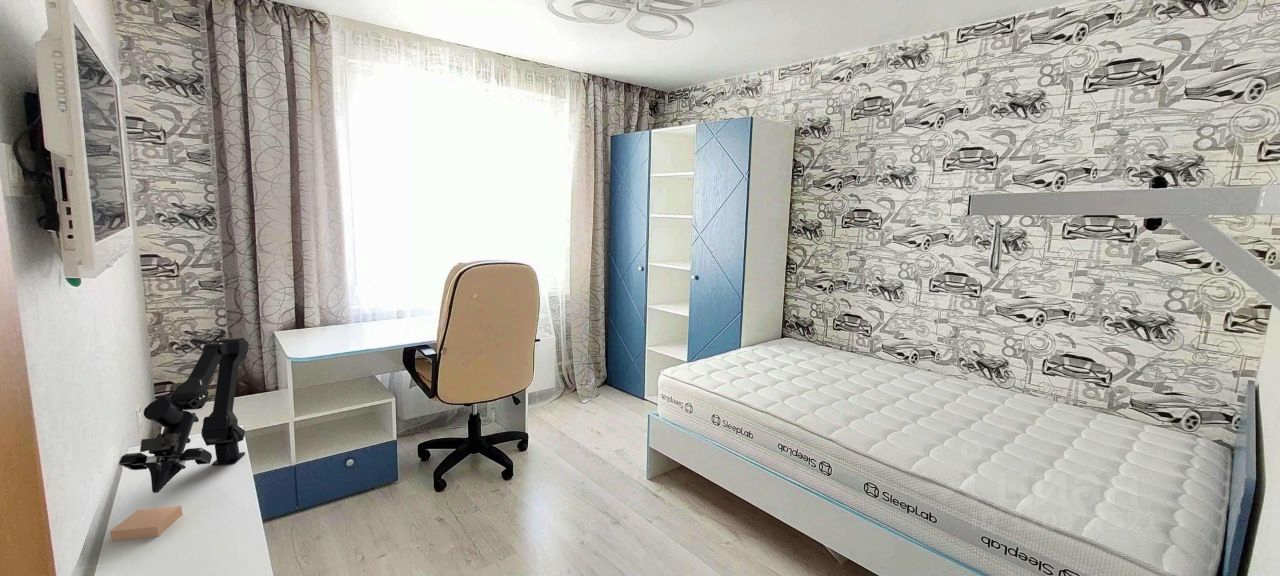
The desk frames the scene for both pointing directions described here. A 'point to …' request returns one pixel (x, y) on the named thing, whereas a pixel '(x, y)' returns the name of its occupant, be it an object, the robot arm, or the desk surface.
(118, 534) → the tile
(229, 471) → the desk surface
